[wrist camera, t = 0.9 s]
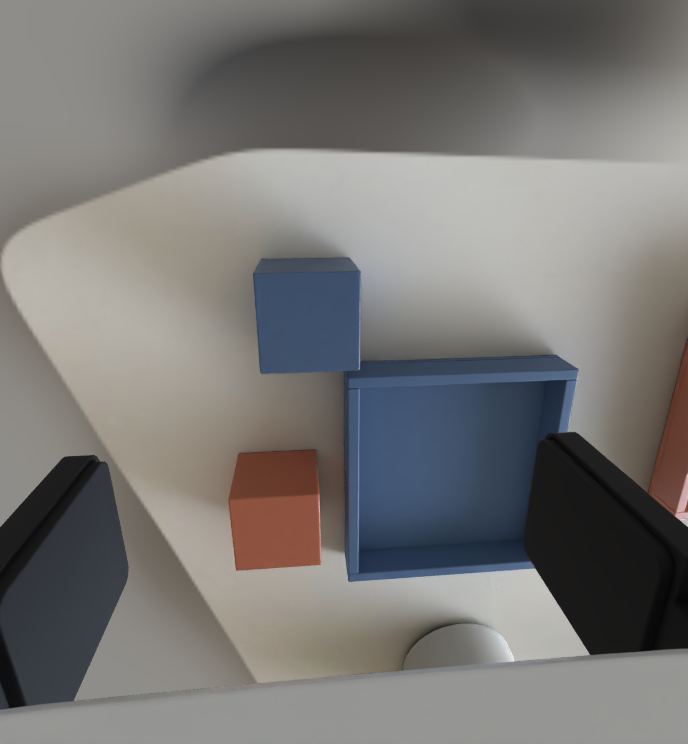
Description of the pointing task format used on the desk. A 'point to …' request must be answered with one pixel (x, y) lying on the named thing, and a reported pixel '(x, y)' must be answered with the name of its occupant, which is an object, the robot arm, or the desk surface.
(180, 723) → the robot arm
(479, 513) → the blue tray
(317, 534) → the terracotta block
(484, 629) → the travel mug
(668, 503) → the terracotta tray
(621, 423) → the desk surface
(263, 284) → the blue block
